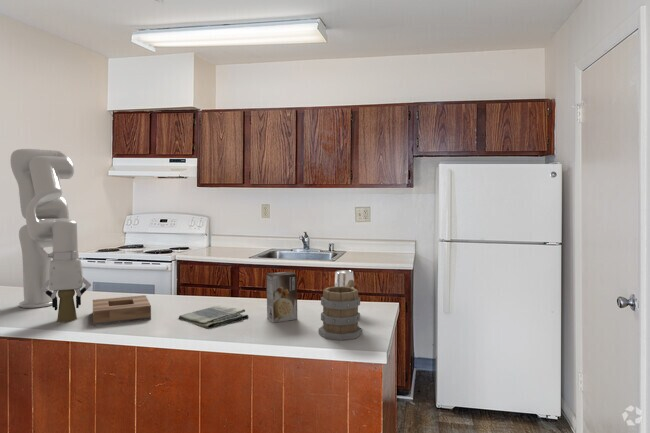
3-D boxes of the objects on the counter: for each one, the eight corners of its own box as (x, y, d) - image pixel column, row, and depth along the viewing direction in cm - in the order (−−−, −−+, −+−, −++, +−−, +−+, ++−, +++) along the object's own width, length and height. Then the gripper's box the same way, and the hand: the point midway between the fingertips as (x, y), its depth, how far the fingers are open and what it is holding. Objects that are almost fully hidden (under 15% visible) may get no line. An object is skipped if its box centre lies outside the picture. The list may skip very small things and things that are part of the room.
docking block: (93, 312, 173) (92, 299, 172) (145, 307, 181) (145, 295, 180) (93, 325, 157) (92, 311, 156) (151, 319, 164) (150, 305, 164)
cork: (68, 322, 160) (67, 290, 160) (52, 321, 161) (51, 289, 161) (81, 317, 166) (80, 286, 166) (65, 316, 167) (65, 285, 167)
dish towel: (176, 320, 165) (176, 311, 165) (219, 310, 179) (219, 302, 179) (208, 330, 153) (208, 320, 153) (251, 319, 167) (251, 310, 167)
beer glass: (356, 311, 177) (356, 270, 176) (349, 315, 170) (349, 273, 170) (339, 309, 180) (339, 269, 179) (331, 313, 173) (331, 272, 173)
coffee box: (290, 315, 170) (290, 270, 169) (297, 319, 165) (297, 273, 164) (266, 318, 166) (266, 272, 165) (272, 323, 160) (272, 275, 160)
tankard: (352, 342, 141) (353, 292, 140) (313, 337, 145) (313, 288, 145) (372, 324, 159) (373, 280, 158) (337, 320, 164) (337, 277, 163)
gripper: (34, 259, 155) (36, 313, 156) (93, 256, 163) (94, 308, 164) (37, 256, 162) (38, 308, 163) (93, 253, 170) (94, 303, 171)
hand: (66, 307), depth 164 cm, fingers open, 5 cm apart
